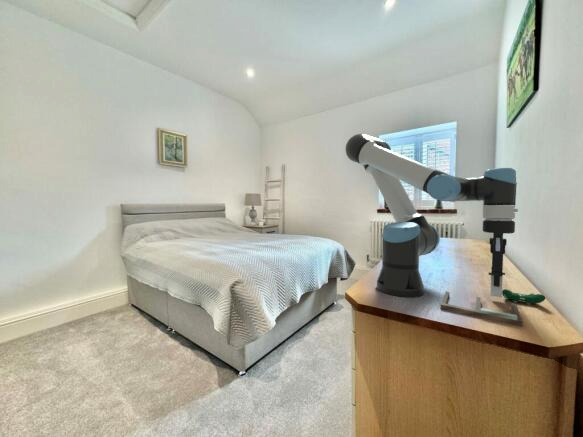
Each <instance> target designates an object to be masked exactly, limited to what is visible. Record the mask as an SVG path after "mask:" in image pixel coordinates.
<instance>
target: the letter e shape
mask: <svg viewBox="0 0 583 437" xmlns="http://www.w3.org/2000/svg"><path fill="white" fill-rule="evenodd" d="M475 298H476V300H475V309H473V308H469V307H462V306H459V305H453V304H448V301H449V299H450V291H445V293H444V295H443V298H442V300H441V302H440V310H444V311H448V312H452V313H457V314H462V315H466V316H472V317H475V318H480V319H484V320H490V321H493V322H494V321H495V322H499V323H504V324H508V325H513V326H518V327H523V324H524V323H523V322H524V321H523V319H522V316H521V314H520V311H519V307H518V305H517V303H515V302H513V303H512V302H511V303H510V304H511V305H510V306H511V307H510V309H511V311H512V313H509V312H503V311H497V310H493V309H490V308H489V309H488V308H483V307H482V303H481V302H482V301H481V300H482V298H481V297H479V296H476V297H475Z"/></svg>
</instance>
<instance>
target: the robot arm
mask: <svg viewBox="0 0 583 437" xmlns="http://www.w3.org/2000/svg"><path fill="white" fill-rule="evenodd" d="M345 155H346V157H347V158H348V159H349V160H350V161H352V162H355V163H358V164H359V165H362V166H363V168H364V170H365V172H366V173H367V174H369V175H371V176H372V177H373V180H374V181H375V184H376V186H377V187H378V189H379V191H380V194H381V195H382V198H383V199H384V202H385V203H386V206H387V208H388V209H389V211H390V213H391V215H392V218H393V220H394V221H395V222H390V223H386V224H385V225H384V226H383V229H382V235H381V237H382V248H381V250H382V257H381V258H382V265H381V269H380V271H379V274H378V277H377V280H376V289H378V291H380V292H382V293H385V294H387V295H390V296H395V297H400V298H401V297H402V298H416V297H422V296H423V295H424V294H425V285H424V281H423V279H422V276H421V273H420V270H419V269H420V268H419V265H420V264H419V263H420V256H426V255H428V254H431V253H432V252H434V251H435V250H436V249H437V248H438V246H439V244H440V242H441V241H440V237H441V236H440V234H439V231H438V230H437V229H436V227H434V226H433V225H431V224H429V222H428V220H427V219H426V216H425V215H423V214H420V213H419V212H418V211H417V209H416V208H415V206H414V204H413V202H412V200H411V199H410V196H409V195H408V193H407V192H406V189H405V187H404V185H403V184H402V182H404V183H406V184H407V185H411V186H412V187H414V188H416V189H419V190H421V191H423V192H424V193H427V194H428V195H429V196H430V197H431V198H432V199H434V200H438V201H440V202H453V203H454V202H468V201H469V202H472V201H475V202H476V201H478V202H479V201H480V202H481V201H482V203H483V204H482V218H483V219H484V220H483V221H482V231H483V232H484V233H489V234H490V233H491V234H492V235H493V236H492V237H489V245H490V248H489V249H490V250H489V252H490V253H491V254H492V256H491V257H492V258H491V271H490V272H488V276H490V293H489V294H490V296H491V297H496V298H503V295H502V291H503V280H504V279H503V276H506V272H503V270H504V268H503V266H504V255H505V254H506V246H507V238H504V234H506V235H507V234H513V233H514V234H515V232H516V231H515V230H516V221H514V219H515V218H516V213H518V212H519V209H518V208H516V201H517V184H518V183H517V171H516V170H515V169H514V168H513V167H500V168H499V167H498V168H497V167H496V168H491V169H486V170H484V172H483V175H482V176H479V177H465V178H464V177H457V176H454V175H451V174H449V173H446V172H443V171H441V170H438V169H435V168H434V167H432V166H429V165H426V164H424V163H421V162H419V161H416V160H414V159H411V158H408V157H407V156H405V155H401V154H399V153H397V152H393V151H392V149H391V145H390V144H389V143H388V142H387V141H385V139H384V140H383V139H382V138H379V137H374V136H371V135H368V134H366V133H357V134H354V135H352V136H351V137H350V138H349V139H348V140H347V142H346V145H345Z"/></svg>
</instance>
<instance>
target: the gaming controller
mask: <svg viewBox="0 0 583 437" xmlns="http://www.w3.org/2000/svg"><path fill="white" fill-rule="evenodd" d="M502 298H504V299H508V300H510V301H512V302H513V303H515V304H517V303H518V302H519V301H520V302H524V303H525V304H526V305H530V306H531V304H541V303H544V301H545V300H546V296H545V295H544V294H542V293H541V294H540V293H537V294H535V293H534V292H531V293H530V294H525V293H518V292H512V291H511V290H510V289H507V288H505V289H502Z"/></svg>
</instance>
